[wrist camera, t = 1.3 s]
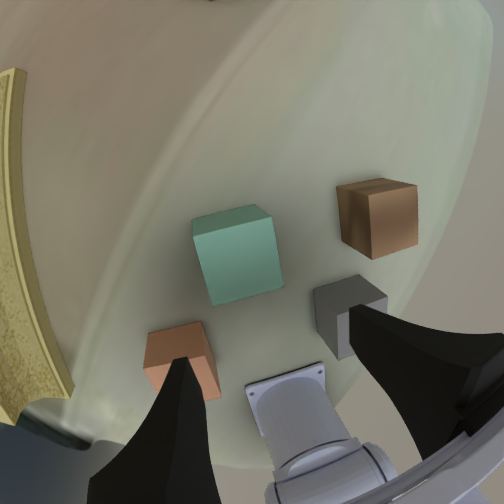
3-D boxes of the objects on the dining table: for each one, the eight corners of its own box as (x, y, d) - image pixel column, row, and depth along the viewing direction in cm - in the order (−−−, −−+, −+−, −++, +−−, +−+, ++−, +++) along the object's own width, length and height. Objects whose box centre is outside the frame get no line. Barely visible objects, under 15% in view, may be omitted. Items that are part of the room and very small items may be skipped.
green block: (265, 261, 22) (283, 287, 18) (207, 277, 21) (212, 306, 17) (254, 203, 20) (271, 216, 16) (191, 219, 20) (192, 236, 16)
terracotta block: (215, 361, 24) (221, 397, 20) (167, 372, 23) (166, 408, 19) (200, 320, 22) (204, 355, 18) (148, 332, 22) (143, 368, 18)
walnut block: (384, 228, 23) (417, 244, 19) (341, 240, 23) (371, 260, 19) (381, 177, 22) (417, 185, 18) (335, 186, 21) (368, 195, 17)
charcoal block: (359, 315, 26) (384, 340, 22) (316, 331, 25) (338, 360, 21) (358, 274, 24) (387, 296, 20) (312, 288, 24) (336, 315, 19)
